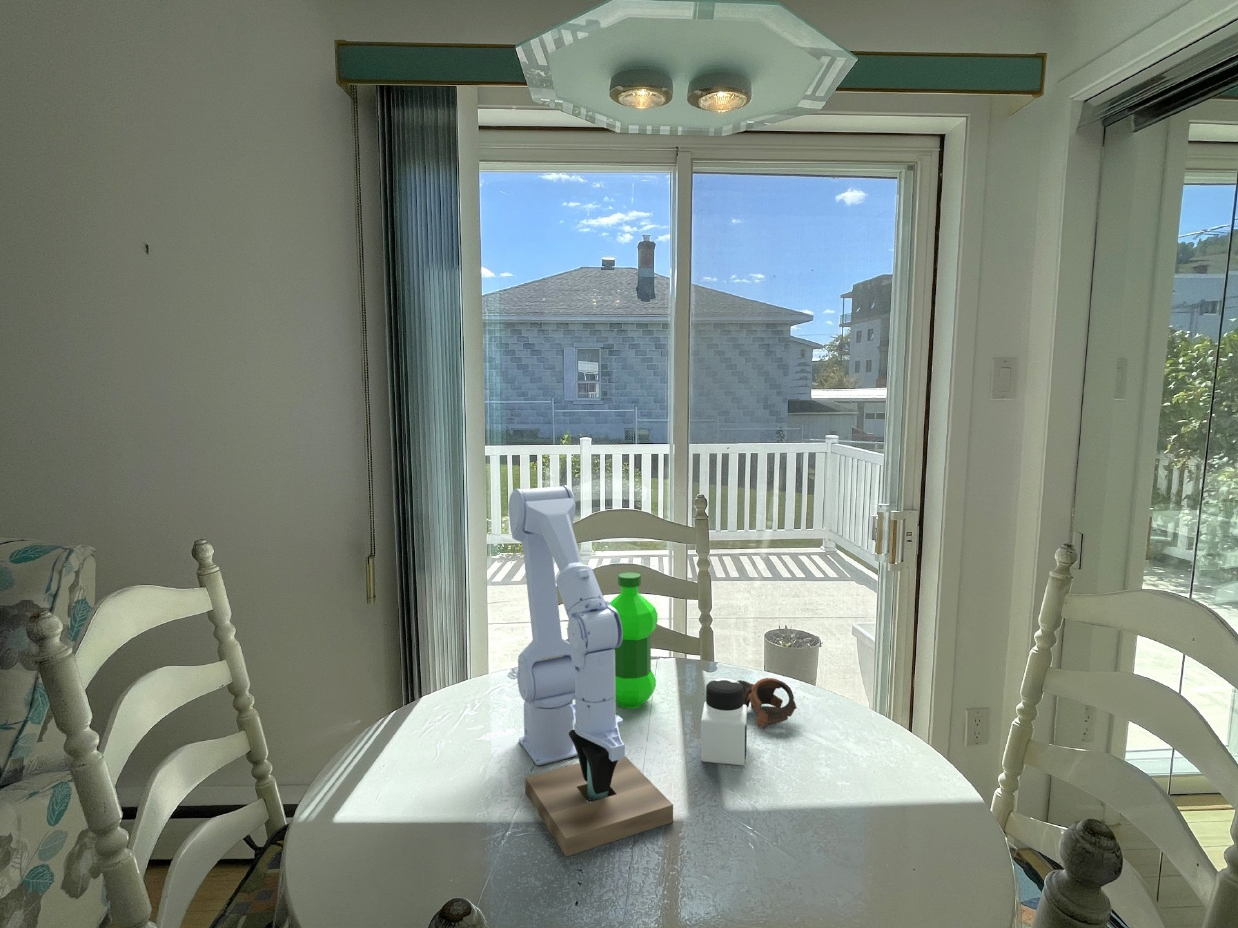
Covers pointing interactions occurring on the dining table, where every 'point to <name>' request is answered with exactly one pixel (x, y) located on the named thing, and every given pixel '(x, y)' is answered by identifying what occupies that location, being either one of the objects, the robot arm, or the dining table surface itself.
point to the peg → (590, 791)
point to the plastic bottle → (634, 644)
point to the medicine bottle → (724, 723)
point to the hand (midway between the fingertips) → (596, 784)
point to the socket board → (596, 806)
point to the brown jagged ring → (768, 700)
